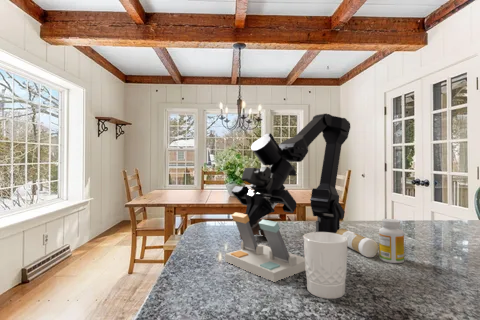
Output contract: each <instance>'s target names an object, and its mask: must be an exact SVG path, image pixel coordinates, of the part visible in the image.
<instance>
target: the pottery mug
mask: <svg viewBox="0 0 480 320" xmlns="http://www.w3.org/2000/svg"><path fill="white" fill-rule="evenodd" d="M261 220H262V218H260V219H259V220H257V221H256V222H254V223H252V224H251V225H250V226H251V229H252V232H253V234H254V236H261V235H264V236H263V237H266V236H265V234H264V231H263V229H261V228H260V225H259V222H260V221H261ZM239 238H240V239H242V238H241V235H240V234H239Z"/></svg>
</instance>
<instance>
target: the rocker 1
mask: <svg viewBox="0 0 480 320" xmlns="http://www.w3.org/2000/svg"><path fill="white" fill-rule="evenodd" d="M231 217H232V220H233V222H235V225H236V227H237V230H238V233H239V236H240V235H241V238H242V240H241V241H242V242H243V243H244V246H245V249H248V250H251V251H254V252H256V247H257V246H258V245H259V244H258V243H257V240H256V238H255V235H254V234H253V232H252V229H251V226H250V224H249V217H248V215H247V214H245V213H242V212H233V213H232V214H231ZM241 238H240V239H241Z"/></svg>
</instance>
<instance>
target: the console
mask: <svg viewBox="0 0 480 320" xmlns="http://www.w3.org/2000/svg"><path fill="white" fill-rule="evenodd" d="M257 245H258V246H257V247H256V252H254V251H251V250H248V249H245V246H244V243H243V241H241V242H240V249H238V250H234V251H231V252H226V253H225V255H224V257H225V258H224V259H225V263H227V262H228V263H227V264H229V263H230V265H231V264H233V265H232V266H234V265H235V266H234V267H236V266H237V267H236V268H238V267H240V268H239V269H241V268H242V269H241V270H243V269H244V270H243V271H245V270H246V272H248V271H249V272H248V273H250V272H251V273H250V274H252V273H253V274H252V275H255V274H256V275H255V276H257V275H258V277H259V276H261V277H260V278H262V277H264V278H266V279H269V280H271V281H273V282H275V283H277V282H276V281H278V280H280V281H282V280H281V279H283V280H285V279H287V278H290V277H292V276H295V275H297V274H300V273H302V272H304V271H306V269H305V256H301V255H298V254H294V253H291V252H288V253H289V256H290V257H289V263H286V262H283V261H280V260H277V259H275V258H274V255H273V253H272V251H271V248H270V246H268V245H265V244H262V243H260V244H257ZM294 274H295V275H294ZM289 276H290V277H289ZM286 277H287V278H286ZM264 278H263V279H264ZM284 278H285V279H284ZM266 279H265V280H266ZM271 281H270V282H271ZM273 282H272V283H273ZM278 282H279V281H278Z"/></svg>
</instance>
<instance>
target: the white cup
mask: <svg viewBox="0 0 480 320" xmlns="http://www.w3.org/2000/svg"><path fill="white" fill-rule="evenodd" d="M347 241H348V239H347V237H345V236H343V235H340V234H336V233H329V232H316V231H315V232H314V231H313V232H308V233H305V234H303V252H304V258H305V269H306V270H305V275H306V276H305V277H306V286H307V288H306V289H307V291H308V292H309V293H310V294H311V295H312V296H315V297H317V298H322V299H326V300H329V299H330V300H331V299H332V300H333V299H334V300H335V299H339V298H342V297H343V296H344V295H345V294H346V278H347V265H348V247H347Z"/></svg>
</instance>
